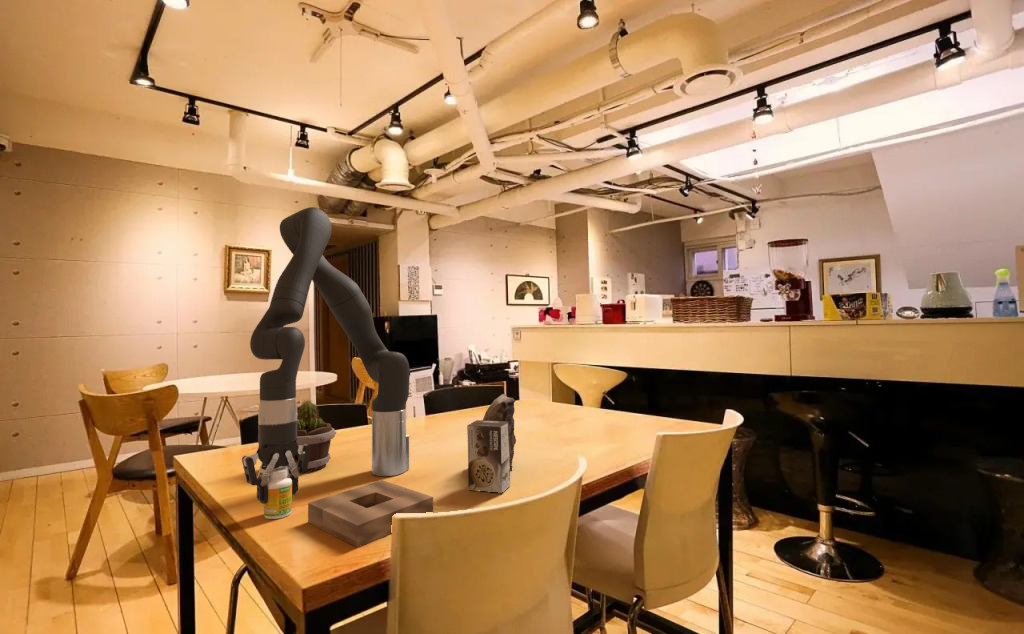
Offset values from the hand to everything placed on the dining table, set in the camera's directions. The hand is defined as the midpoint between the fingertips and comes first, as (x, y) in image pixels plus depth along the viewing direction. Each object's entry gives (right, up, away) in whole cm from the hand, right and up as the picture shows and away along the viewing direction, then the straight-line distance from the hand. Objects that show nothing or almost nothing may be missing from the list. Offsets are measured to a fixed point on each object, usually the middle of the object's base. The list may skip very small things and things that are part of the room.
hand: (277, 498), depth 101 cm
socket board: (+21, -3, -3) cm, 21 cm away
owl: (+45, -4, +33) cm, 56 cm away
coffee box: (+45, -4, +15) cm, 47 cm away
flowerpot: (-8, -5, +34) cm, 35 cm away
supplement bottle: (0, -4, 0) cm, 4 cm away
